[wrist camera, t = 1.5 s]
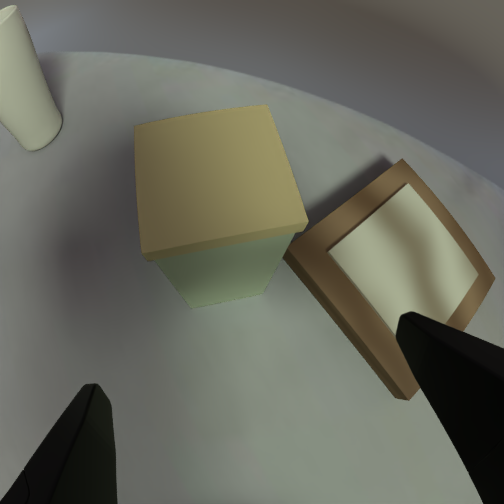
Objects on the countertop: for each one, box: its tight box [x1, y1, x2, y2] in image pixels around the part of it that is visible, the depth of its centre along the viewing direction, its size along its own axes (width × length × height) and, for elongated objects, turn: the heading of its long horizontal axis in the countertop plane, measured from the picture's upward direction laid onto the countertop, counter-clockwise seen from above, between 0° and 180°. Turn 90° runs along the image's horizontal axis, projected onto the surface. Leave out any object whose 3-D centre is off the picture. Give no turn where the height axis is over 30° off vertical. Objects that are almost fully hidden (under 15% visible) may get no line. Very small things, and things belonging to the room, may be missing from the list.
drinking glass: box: [0, 5, 62, 151], centre depth 18 cm, size 7×7×15 cm
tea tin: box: [134, 105, 309, 309], centre depth 16 cm, size 5×5×12 cm
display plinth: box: [282, 159, 495, 401], centre depth 22 cm, size 14×14×2 cm
